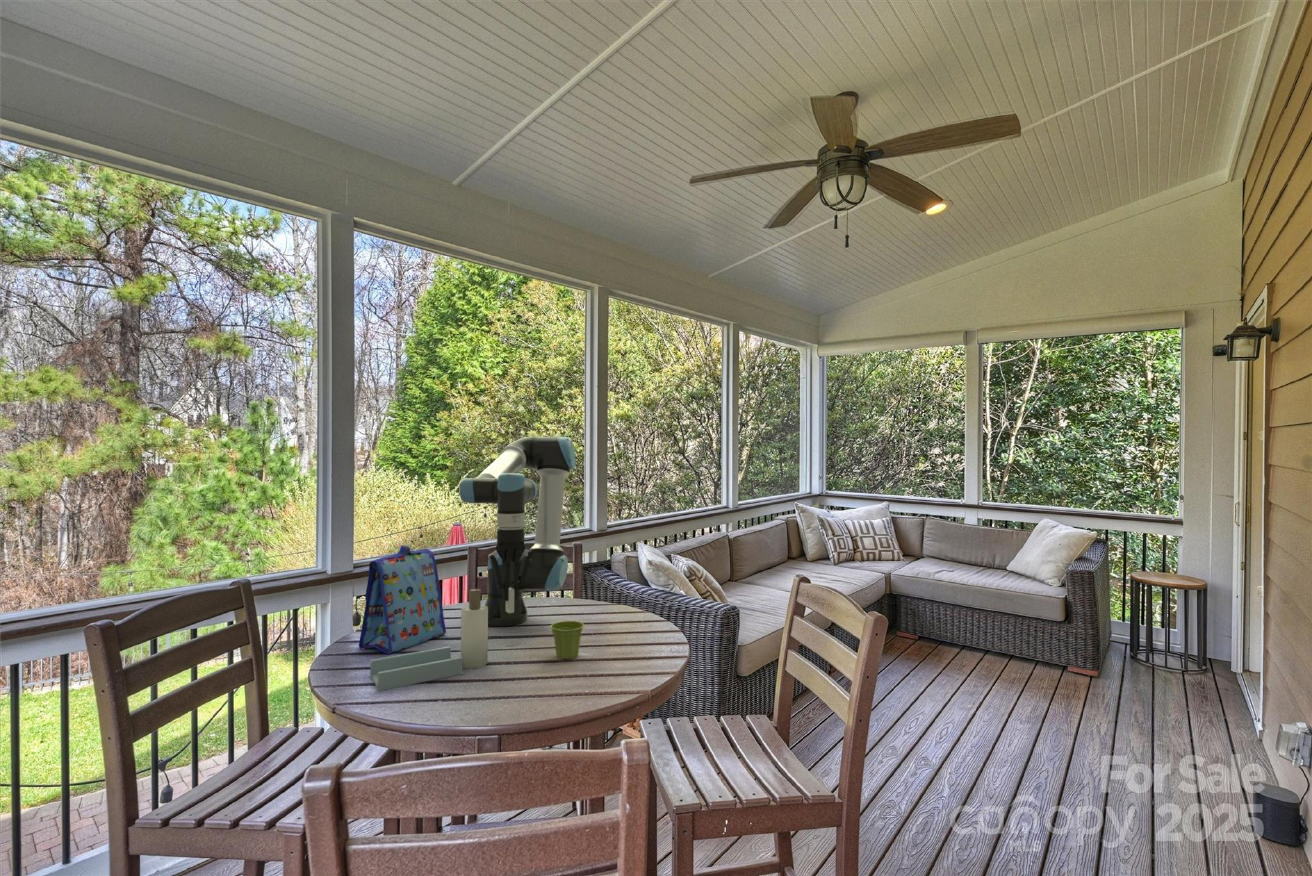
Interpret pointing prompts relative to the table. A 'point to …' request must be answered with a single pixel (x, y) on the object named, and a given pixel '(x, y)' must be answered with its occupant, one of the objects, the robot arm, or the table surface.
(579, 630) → the plant pot
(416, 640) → the lunch bag
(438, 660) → the grey-green cradle
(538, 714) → the table surface
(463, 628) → the cream bottle
